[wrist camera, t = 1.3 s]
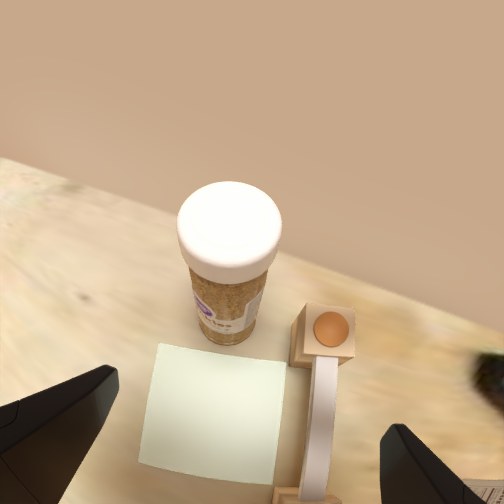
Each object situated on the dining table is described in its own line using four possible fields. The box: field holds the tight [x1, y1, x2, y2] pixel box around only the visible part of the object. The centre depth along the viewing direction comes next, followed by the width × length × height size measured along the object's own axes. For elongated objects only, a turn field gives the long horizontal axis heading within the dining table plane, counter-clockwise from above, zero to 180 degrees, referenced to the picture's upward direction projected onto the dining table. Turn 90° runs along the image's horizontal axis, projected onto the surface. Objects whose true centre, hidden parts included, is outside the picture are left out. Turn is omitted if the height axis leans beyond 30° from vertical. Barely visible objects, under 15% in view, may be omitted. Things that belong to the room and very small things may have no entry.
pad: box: [138, 343, 287, 485], centre depth 19 cm, size 10×10×1 cm
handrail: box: [272, 303, 355, 504], centre depth 17 cm, size 17×4×5 cm, turn 173°
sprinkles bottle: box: [177, 182, 282, 345], centre depth 18 cm, size 5×5×13 cm
